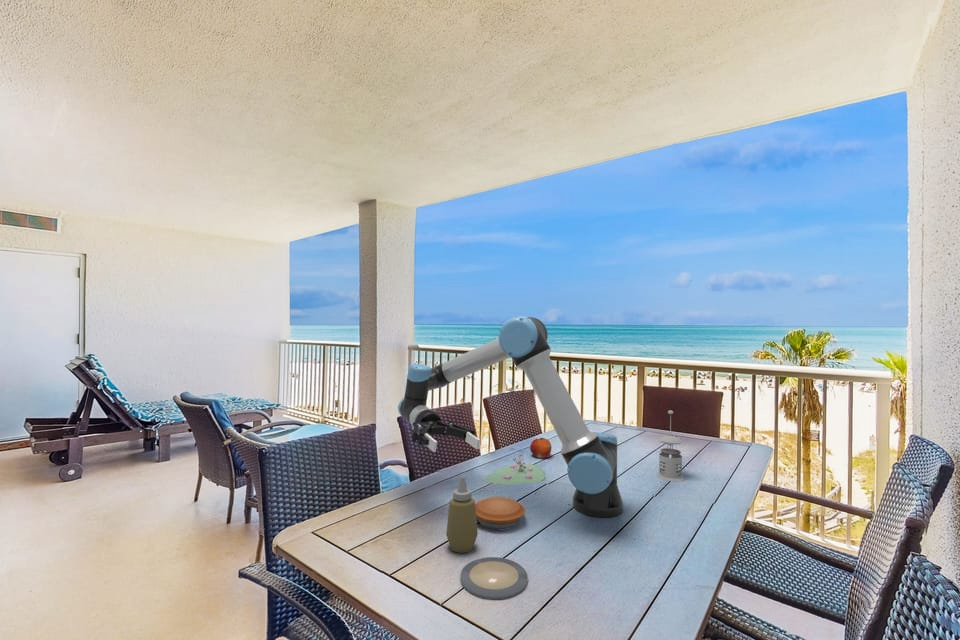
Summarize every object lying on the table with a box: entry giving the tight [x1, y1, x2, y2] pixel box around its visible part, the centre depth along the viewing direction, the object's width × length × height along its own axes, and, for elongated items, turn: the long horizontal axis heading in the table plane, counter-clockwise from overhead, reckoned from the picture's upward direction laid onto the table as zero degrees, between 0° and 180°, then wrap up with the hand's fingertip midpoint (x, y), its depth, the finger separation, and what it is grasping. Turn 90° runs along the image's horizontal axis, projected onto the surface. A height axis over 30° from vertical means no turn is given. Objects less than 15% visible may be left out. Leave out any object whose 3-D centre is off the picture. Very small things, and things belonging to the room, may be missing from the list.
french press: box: [656, 409, 686, 482], centre depth 166 cm, size 10×12×25 cm
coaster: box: [460, 556, 529, 601], centre depth 99 cm, size 15×15×1 cm
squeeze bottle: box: [445, 475, 479, 554], centre depth 112 cm, size 8×8×18 cm
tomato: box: [529, 437, 553, 459], centre depth 190 cm, size 9×9×8 cm
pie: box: [475, 496, 526, 531], centre depth 128 cm, size 16×16×5 cm
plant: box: [482, 450, 547, 486], centre depth 166 cm, size 25×21×9 cm
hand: (457, 445), depth 121 cm, fingers open, 13 cm apart
